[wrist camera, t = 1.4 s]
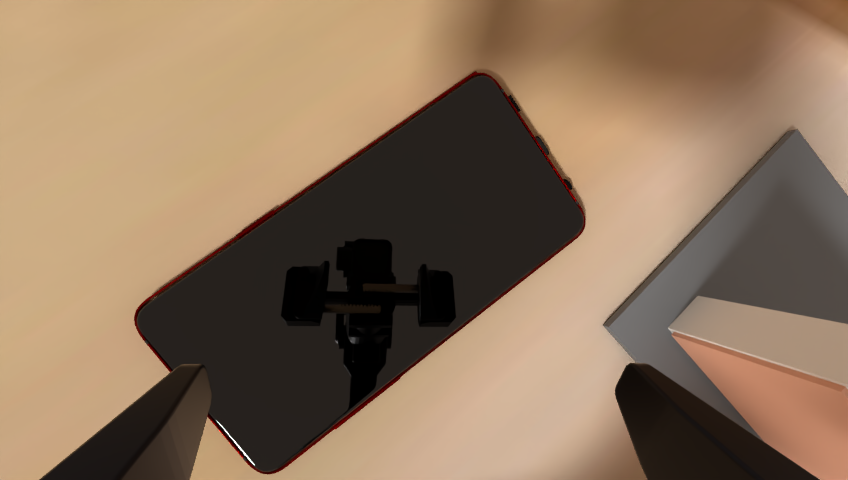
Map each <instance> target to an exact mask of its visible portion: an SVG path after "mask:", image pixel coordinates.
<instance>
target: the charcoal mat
mask: <svg viewBox="0 0 848 480" xmlns="http://www.w3.org/2000/svg"><path fill="white" fill-rule="evenodd" d="M697 296H702V297H708V298H713V299H718V300H724V301H729V302H734V303H739V304H745V305H750V306H755V307H760V308H766V309H771V310H776V311H782V312H787V313H792V314H797V315H803V316H808V317H813V318H818V319H824V320H829V321H834V322H839V323H845V324H848V196H847V194H846V193H845V192H844V190H843V189H842V188H841V186H840V185H839V184H838V183H837V181H836V180H835V179H834V177H833V176H832V175H831V173H830V172H829V171H828V169H827V168H826V167H825V165H824V164H823V163H822V161H821V160H820V159H819V157H818V156H817V155H816V153H815V152H814V151H813V149H812V148H811V147H810V145H809V144H808V143H807V141H806V140H805V139H804V138H803V136H802V135H801V134H800V132H799V131H798V130H792V131H788V132H787V133H786V134H785V135H784V136H783V137H782V138H781V139H780V140H779V141H778V143H777V144H776V145H775V146H774V147H773V148H772V149H771V150H770V151H769V152H768V153H767V154H766V155H765V156H764V157H763V158H762V159H761V160H760V161H759V162H758V163H757V165H756V166H755V167H754V168H753V169H752V170H751V171H750V172H749V173H748V174H747V175H746V176H745V177H744V178H743V179H742V180H741V181H740V182H739V183H738V184H737V185H736V186H735V188H734V189H733V190H732V191H731V192H730V193H729V194H728V195H727V196H726V197H725V198H724V199H723V200H722V201H721V202H720V203H719V204H718V205H717V206H716V207H715V208H714V210H713V211H712V212H711V213H710V214H709V215H708V216H707V217H706V218H705V219H704V220H703V221H702V222H701V223H700V224H699V225H698V226H697V227H696V228H695V229H694V230H693V231H692V233H691V234H690V235H689V236H688V237H687V238H686V239H685V240H684V241H683V242H682V243H681V244H680V245H679V246H678V247H677V248H676V249H675V250H674V251H673V252H672V253H671V255H670V256H669V257H668V258H667V259H666V260H665V261H664V262H663V263H662V264H661V265H660V266H659V267H658V268H657V269H656V270H655V271H654V272H653V273H652V274H651V275H650V276H649V278H648V279H647V280H646V281H645V282H644V283H643V284H642V285H641V286H640V287H639V288H638V289H637V290H636V291H635V292H634V293H633V294H632V295H631V296H630V297H629V298H628V300H627V301H626V302H625V303H624V304H623V305H622V306H621V307H620V308H619V309H618V310H617V311H616V312H615V313H614V314H613V315H612V316H611V317H610V318H609V319H608V320H607V321H606V323H605V324H604V325H603V326H604V327H605V328H606V329H607V330H608V331H609V332H610V334H611V335H612V336H613V337H614V338H615V339H616V340H617V341H618V343H619V344H620V345H621V346H622V347H623V348H624V349H625V350H626V351H627V353H628V354H629V355H630V356H631V357H632V358H633V359H634V360H635V362H636V363H647V364H649V365H651V366H652V367H654V368H655V369H657V370H658V371H660V372H661V373H663V374H664V375H666V376H667V377H669V378H670V379H672V380H673V381H675V382H676V383H678V384H679V385H681V386H682V387H684V388H685V389H687V390H688V391H689V392H691V393H692V394H694V395H695V396H697V397H698V398H700V399H701V400H703V401H704V402H706V403H707V404H709V405H710V406H712V407H713V408H715V409H716V410H718V411H719V412H721V413H722V414H724V415H725V416H727V417H728V418H730V419H731V420H732V421H734V422H735V423H737V424H738V425H740V426H741V427H743V428H744V429H746V430H747V431H749V432H750V433H752V434H753V435H755V436H756V437H758V438H759V439H761V437H760V436H759V435H758V434H757V433H756V432H755V431H754V429H753V428H752V427H751V426H750V425H749V424H748V423H747V421H746V420H745V419H744V418H743V417H742V416H741V415H740V413H739V412H738V411H737V410H736V409H735V408H734V407H733V405H732V404H731V403H730V402H729V401H728V400H727V398H726V397H725V396H724V395H723V394H722V393H721V392H720V390H719V389H718V388H717V387H716V386H715V385H714V384H713V382H712V381H711V380H710V379H709V378H708V377H707V376H706V374H705V373H704V372H703V371H702V370H701V369H700V368H699V366H698V365H697V364H696V363H695V362H694V361H693V359H692V358H691V357H690V356H689V355H688V354H687V353H686V351H685V350H684V349H683V348H682V347H681V346H680V345H679V343H678V342H677V341H676V340H675V339H674V338H673V337H672V335H671V334H672V332H671V331H670V330H669V329H668V327H669V326H670V325H671V324H672V323H673V322H674V321H675V319H676V318H677V317H678V316H679V315H680V314H681V313H682V312H683V311H684V310H685V309H686V308H687V307H688V306H689V304H690V303H691V302H692V301H693V300H694V299H695V298H696V297H697ZM761 440H762V439H761ZM762 441H763V440H762Z"/></svg>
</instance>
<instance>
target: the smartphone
mask: <svg viewBox="0 0 848 480" xmlns="http://www.w3.org/2000/svg"><path fill="white" fill-rule="evenodd" d="M471 78H472V79H471ZM468 80H469V81H468ZM465 82H466V83H465ZM461 85H462V86H461ZM458 87H459V88H458ZM455 89H456V90H455ZM448 94H449V95H448ZM445 96H446V97H445ZM435 103H436V104H435ZM514 103H515V101H513V98H512V96H511V95H510V96H509V97H508V96H507V95H506V93H505V92H504V91H503V89H502V88H501V86H500V85H499V84H498V83H497V81H496V80H495V79H494V78H492V77H491V76H489V75H488V74H485V73H477V72H476V71H475V72H474V73H472V74H471V75H469V76H468V77H466V78H465V79H463V80H462V81H461V82H459V83H458V84H456V85H455V86H453V87H452V88H450V89H449V90H448V91H446V92H445V93H443V94H442V95H440V96H439V97H437V98H436V99H435V100H433V101H432V102H431V103H429V104H428V105H426V106H425V107H423V108H422V109H420V110H419V111H418V112H416V113H415V114H413V115H412V116H410V117H409V118H407V119H406V120H405V121H403V122H402V123H400V124H399V125H397V126H396V127H395V128H393V129H392V130H390V131H389V132H387V133H386V134H384V135H383V136H382V137H380V138H379V139H377V140H376V141H374V142H373V143H371V144H370V145H369V146H367V147H366V148H364V149H363V150H361V151H360V152H358V153H357V154H356V155H354V156H353V157H351V158H350V159H348V160H347V161H345V162H344V163H343V164H341V165H340V166H338V167H337V168H335V169H334V170H332V171H331V172H330V173H328V174H327V175H325V176H324V177H322V178H321V179H319V180H318V181H317V182H315V183H314V184H312V185H311V186H309V187H308V188H306V189H305V190H304V191H302V192H301V193H299V194H298V195H296V196H295V197H293V198H292V199H291V200H289V201H288V202H286V203H285V204H283V205H282V206H280V207H279V208H277V209H276V210H275V211H274V210H272V211H270V212H269V213H267V214H266V215H265V216H263V217H262V218H260V219H259V220H257V221H256V222H254V223H253V224H252V225H250V226H249V227H247V228H246V229H244V230H243V231H241V232H240V233H239V234H237V235H236V236H237V237H236V238H234V239H233V240H231V241H230V242H228V243H227V244H225V245H224V246H223V247H221V248H220V249H218V250H217V251H215V252H214V253H212V254H211V255H209V256H208V257H207V258H205V259H204V260H202V261H201V262H199V263H198V264H196V265H195V266H194V267H192V268H191V269H189V270H188V271H186V272H185V273H183V274H182V275H181V276H179V277H178V278H176V279H175V280H173V281H172V282H170V283H169V284H168V285H166V286H165V287H163V288H162V289H160V290H159V291H157V292H156V293H154V294H153V295H152V296H150V297H149V298H147V299H146V300H145V301H144V302H143V303H142V304H141V305H140V306H139V307H138V309H137V310H136V313H135V317H134V321H135V326H136V329H137V331H138V333H139V334H140V336H141V337H142V339H143V340H144V341H145V343H146V344H147V345H148V346H149V347H150V349H151V350H152V351H153V352H154V353H155V355H156V356H157V357H158V358H159V359H160V361H161V362H162V363H163V364H164V365H165V367H166V368H167V369H168V370H169V371H170V373H171V372H172V371H173V370H174V369H175V368H177V367H178V366H180V365H182V364H203V365H204V366H205V367H206V369H207V374H208V378H209V383H210V387H211V392H212V399H211V405H210V408H209V412H208V416H207V417H208V418H209V419H210V420H211V421H212V423H213V424H214V425H215V426H216V427H217V428H218V430H219V431H220V432H221V433H222V434H223V436H224V437H225V438H226V439H227V440H228V442H229V443H230V444H231V445H232V446H233V447H234V449H235V450H236V451H237V452H238V453H239V455H240V456H241V457H242V458H243V459H244V460H245V461H246V463H247V464H248V465H249V466H250V467H252V468H253V469H254V470H256V471H257V472H259V473H262V474H274V473H277V472H279V471H281V470H282V469H284V468H285V467H287V466H288V465H289V464H291V463H292V462H293V461H294V460H296V459H297V458H298V457H299V456H301V455H302V454H303V453H305V452H306V451H307V450H308V449H310V448H311V447H312V446H313V445H315V444H316V443H317V442H318V441H320V440H321V439H322V438H324V437H325V436H326V435H327V434H329V433H330V432H331V431H332V430H334V429H337V428H338V427H339V426H341V425H342V424H343V423H345V422H346V421H347V420H348V419H350V418H351V417H352V416H353V415H355V414H356V413H357V412H358V411H360V410H361V409H362V408H364V407H365V406H366V405H367V404H369V403H370V402H371V401H372V400H374V399H375V398H376V397H378V396H379V395H380V394H381V393H383V392H384V391H385V390H386V389H388V388H389V387H390V386H392V385H393V384H394V383H395V382H397V381H398V380H399V379H400V377H401V376H402V375H403V374H405V373H406V372H407V371H409V370H410V369H411V368H412V367H414V366H415V365H416V364H417V363H419V362H420V361H421V360H422V359H424V358H425V357H426V356H428V355H429V354H430V353H431V352H433V351H434V350H435V349H436V348H438V347H439V346H440V345H442V344H443V343H444V342H445V341H447V340H448V339H449V338H450V337H452V336H453V335H454V334H456V333H457V332H458V331H459V330H461V329H462V328H463V327H464V326H466V325H467V324H468V323H470V322H471V321H472V320H473V319H475V318H476V317H477V316H479V315H480V314H481V313H482V312H484V311H485V310H486V309H487V308H489V307H490V306H491V305H493V304H494V303H495V302H496V301H498V300H499V299H500V298H501V297H503V296H504V295H505V294H507V293H508V292H509V291H510V290H512V289H513V288H514V287H515V286H517V285H518V284H519V283H521V282H522V281H523V280H524V279H526V278H527V277H528V276H530V275H531V274H532V273H533V272H535V271H536V270H537V269H538V268H540V267H541V266H542V265H544V264H545V263H546V262H547V261H549V260H550V259H551V258H552V257H554V256H555V255H556V254H558V253H559V252H560V251H561V250H563V249H564V248H565V247H567V246H568V245H569V244H570V243H572V242H573V241H574V240H575V239H577V238H578V237H579V236H580V235H581V233H582V232H583V230H584V228H585V216H584V213H583V211H582V208H581V207H580V205H579V203H578V202H577V200H576V199H575V197H574V196H573V194H572V193H571V191H570V190H571V189H572V185H571V184H570V182H569V181H568V180H566V179H564V181H563V179H562V177H561V176H560V174H559V173H558V171H557V170H556V168H555V167H554V165H553V164H552V162H551V161H550V159H549V158H548V156H547V155H548V154H549V151H548V149H547V148H546V146H545V145H544V143H543V142H542V140H541V139H540V138H539V137H538V136H536V138H535V137H534V135H533V134H532V132H531V131H530V129H529V128H528V126H527V125H526V123H525V122H524V120H523V119H522V117H521V116H520V114H519V113H518V112H519V111H520V109H519V107H518V106H517V104H516V103H515V104H514ZM432 104H434V105H433V106H431V105H432ZM513 104H514V105H513ZM429 106H431V107H430V108H428V107H429ZM427 108H428V109H427ZM425 109H427V110H425ZM516 109H517V110H516ZM424 110H425V111H424ZM422 111H424V112H423V113H421V112H422ZM419 113H421V114H420V115H418V114H419ZM417 115H418V116H417ZM415 116H417V117H415ZM414 117H415V118H414ZM412 118H414V119H412ZM411 119H412V120H411ZM409 120H411V121H410V122H408V121H409ZM406 122H408V123H407V124H405V123H406ZM404 124H405V125H404ZM402 125H404V126H402ZM401 126H402V127H401ZM399 127H401V128H400V129H398V128H399ZM396 129H398V130H397V131H395V130H396ZM394 131H395V132H394ZM392 132H394V133H392ZM391 133H392V134H391ZM389 134H391V135H389ZM388 135H389V136H388ZM386 136H388V137H387V138H385V137H386ZM384 138H385V139H384ZM382 139H384V140H382ZM381 140H382V141H381ZM379 141H381V142H379ZM378 142H379V143H378ZM376 143H378V144H376ZM375 144H376V145H375ZM374 145H375V146H374ZM372 146H374V147H372ZM371 147H372V148H371ZM369 148H371V149H369ZM368 149H369V150H368ZM366 150H368V151H366ZM365 151H366V152H365ZM363 152H365V153H363ZM362 153H363V154H362ZM361 154H362V155H361ZM359 155H361V156H359ZM358 156H359V157H358ZM356 157H358V158H356ZM355 158H356V159H355ZM353 159H355V160H353ZM352 160H353V161H352ZM351 161H352V162H351ZM349 162H350V163H349ZM348 163H349V164H348ZM346 164H348V165H346ZM345 165H346V166H345ZM343 166H345V167H343ZM342 167H343V168H342ZM340 168H342V169H340ZM339 169H340V170H339ZM338 170H339V171H338ZM336 171H338V172H336ZM335 172H336V173H335ZM333 173H335V174H333ZM332 174H333V175H332ZM330 175H332V176H330ZM329 176H330V177H329ZM327 177H329V178H327ZM326 178H327V179H326ZM325 179H326V180H325ZM323 180H325V181H323ZM322 181H323V182H322ZM320 182H322V183H320ZM319 183H320V184H319ZM317 184H319V185H317ZM316 185H317V186H316ZM314 186H316V187H314ZM313 187H314V188H313ZM312 188H313V189H312ZM310 189H312V190H310ZM309 190H310V191H309ZM307 191H309V192H307ZM306 192H307V193H306ZM304 193H306V194H304ZM303 194H304V195H303ZM302 195H303V196H302ZM300 196H301V197H300ZM299 197H300V198H299ZM297 198H299V199H297ZM296 199H297V200H296ZM294 200H296V201H294ZM293 201H294V202H293ZM291 202H293V203H291ZM290 203H291V204H290ZM289 204H290V205H289ZM287 205H288V206H287ZM286 206H287V207H286ZM284 207H286V208H284ZM283 208H284V209H283ZM281 209H283V210H281ZM280 210H281V211H280ZM278 211H280V212H278ZM277 212H278V213H277ZM276 213H277V214H276ZM238 239H239V240H238ZM237 240H238V241H237ZM235 241H237V242H235ZM234 242H235V243H234ZM232 243H234V244H232ZM231 244H232V245H231ZM230 245H231V246H230ZM228 246H229V247H228ZM227 247H228V248H227ZM225 248H226V249H225ZM224 249H225V250H224ZM222 250H224V251H222ZM221 251H222V252H221ZM219 252H221V253H219ZM218 253H219V254H218ZM217 254H218V255H217ZM215 255H216V256H215ZM214 256H215V257H214ZM212 257H214V258H212ZM211 258H212V259H211ZM209 259H211V260H209ZM208 260H209V261H208ZM206 261H208V262H206ZM205 262H206V263H205ZM204 263H205V264H204ZM202 264H203V265H202ZM201 265H202V266H201ZM199 266H201V267H199ZM198 267H199V268H198ZM196 268H198V269H196ZM195 269H196V270H195ZM194 270H195V271H194ZM192 271H193V272H192ZM191 272H192V273H191ZM189 273H190V274H189ZM188 274H189V275H188ZM186 275H188V276H186ZM185 276H186V277H185ZM183 277H185V278H183ZM182 278H183V279H182ZM181 279H182V280H181ZM179 280H180V281H179ZM178 281H179V282H178ZM176 282H177V283H176ZM175 283H176V284H175ZM173 284H175V285H173ZM172 285H173V286H172ZM170 286H172V287H170ZM169 287H170V288H169ZM168 288H169V289H168ZM166 289H167V290H166ZM165 290H166V291H165ZM163 291H165V292H163ZM162 292H163V293H162ZM160 293H162V294H160ZM159 294H160V295H159ZM158 295H159V296H158ZM156 296H157V297H156ZM155 297H156V298H155ZM152 299H153V300H152ZM151 300H152V301H151Z"/></svg>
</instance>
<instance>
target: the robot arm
mask: <svg viewBox="0 0 848 480" xmlns="http://www.w3.org/2000/svg"><path fill="white" fill-rule="evenodd" d="M615 395H616V400H617V402H618V405H619V408H620V410H621V413H622V416H623V419H624V421H625V424H626V427H627V429H628V432H629V435H630V438H631V440H632V443H633V446H634V449H635V451H636V454H637V456H638V459H639V461H640V464H641V466H642V469H643V471H644V473H645V475H646V478H647V480H820V479H818V478H817V477H815V476H814V475H812V474H811V473H810V472H808V471H807V470H805V469H804V468H802V467H801V466H799V465H798V464H796V463H795V462H793V461H792V460H790V459H789V458H787V457H786V456H784V455H783V454H781V453H780V452H778V451H777V450H775V449H774V448H772V447H771V446H770V445H768V444H767V443H765V442H764V441H762V440H761V439H759V438H758V437H756V436H755V435H753V434H752V433H750V432H749V431H747V430H746V429H744V428H743V427H741V426H740V425H738V424H737V423H735V422H734V421H732V420H731V419H730V418H728V417H727V416H725V415H724V414H722V413H721V412H719V411H718V410H716V409H715V408H713V407H712V406H710V405H709V404H707V403H706V402H704V401H703V400H701V399H700V398H698V397H697V396H695V395H694V394H692V393H691V392H689V391H688V390H687V389H685V388H684V387H682V386H681V385H679V384H678V383H676V382H675V381H673V380H672V379H670V378H669V377H667V376H666V375H664V374H663V373H661V372H660V371H658V370H657V369H655V368H654V367H652V366H651V365H649V364H647V363H629V364H628V365H627V366H626V367H625V369H624V371H623V373H622V375H621V377H620V379H619V381H618V383H617V385H616V388H615ZM211 399H212V392H211V387H210V383H209V378H208V374H207V369H206V367H205V366H204V365H203V364H182V365H180V366H178V367H177V368H175V369H174V370H173V371H172V372H171V373H169V374H168V375H167V376H166V377H164V378H163V379H162V380H161V381H160V382H158V383H157V384H156V385H155V386H153V387H152V388H151V389H150V390H149V391H147V392H146V393H145V394H144V395H142V396H141V397H140V398H139V399H138V400H136V401H135V402H134V403H133V404H131V405H130V406H129V407H128V408H126V409H125V410H124V411H123V412H122V413H120V414H119V415H118V416H117V417H115V418H114V419H113V420H112V421H111V422H109V423H108V424H107V425H106V426H104V427H103V428H102V429H101V430H100V431H98V432H97V433H96V434H95V435H93V436H92V437H91V438H90V439H88V440H87V441H86V442H85V443H84V444H82V445H81V446H80V447H79V448H77V449H76V450H75V451H74V452H73V453H71V454H70V455H69V456H68V457H66V458H65V459H64V460H63V461H62V462H60V463H59V464H58V465H57V466H55V467H54V468H53V469H52V470H51V471H49V472H48V473H47V474H46V475H44V476H43V477H42V478H41V479H39V480H190V477H191V473H192V470H193V466H194V463H195V459H196V455H197V452H198V448H199V445H200V441H201V437H202V434H203V430H204V427H205V423H206V419H207V416H208V412H209V408H210V405H211Z"/></svg>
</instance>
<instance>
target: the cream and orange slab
mask: <svg viewBox="0 0 848 480" xmlns="http://www.w3.org/2000/svg"><path fill="white" fill-rule="evenodd" d="M668 329H669V330H670V331H671V332H672V334H671V335H672V337H673V338H674V339H675V340H676V341H677V342H678V343H679V345H680V346H681V347H682V348H683V349H684V350H685V351H686V353H687V354H688V355H689V356H690V357H691V358H692V359H693V361H694V362H695V363H696V364H697V365H698V366H699V368H700V369H701V370H702V371H703V372H704V373H705V374H706V376H707V377H708V378H709V379H710V380H711V381H712V382H713V384H714V385H715V386H716V387H717V388H718V389H719V390H720V392H721V393H722V394H723V395H724V396H725V397H726V398H727V400H728V401H729V402H730V403H731V404H732V405H733V407H734V408H735V409H736V410H737V411H738V412H739V413H740V415H741V416H742V417H743V418H744V419H745V420H746V421H747V423H748V424H749V425H750V426H751V427H752V428H753V429H754V431H755V432H756V433H757V434H758V435H759V436H760V437H761V439H762V440H763V441H764V442H765V443H767V444H768V445H770V446H771V447H772V448H774V449H775V450H777V451H778V452H780V453H781V454H783V455H784V456H786V457H787V458H789V459H790V460H792V461H793V462H795V463H796V464H798V465H799V466H801V467H802V468H804V469H805V470H807V471H808V472H810V473H811V474H812V475H814V476H815V477H817V478H819V479H821V480H848V324H845V323H839V322H834V321H829V320H824V319H818V318H813V317H808V316H803V315H797V314H792V313H787V312H782V311H776V310H771V309H766V308H760V307H755V306H750V305H745V304H739V303H734V302H729V301H724V300H718V299H713V298H708V297H702V296H697V297H696V298H695V299H694V300H693V301H692V302H691V303H690V304H689V306H688V307H687V308H686V309H685V310H684V311H683V312H682V313H681V314H680V315H679V316H678V317H677V318H676V319H675V321H674V322H673V323H672V324H671V325H670V326H669V327H668Z"/></svg>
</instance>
